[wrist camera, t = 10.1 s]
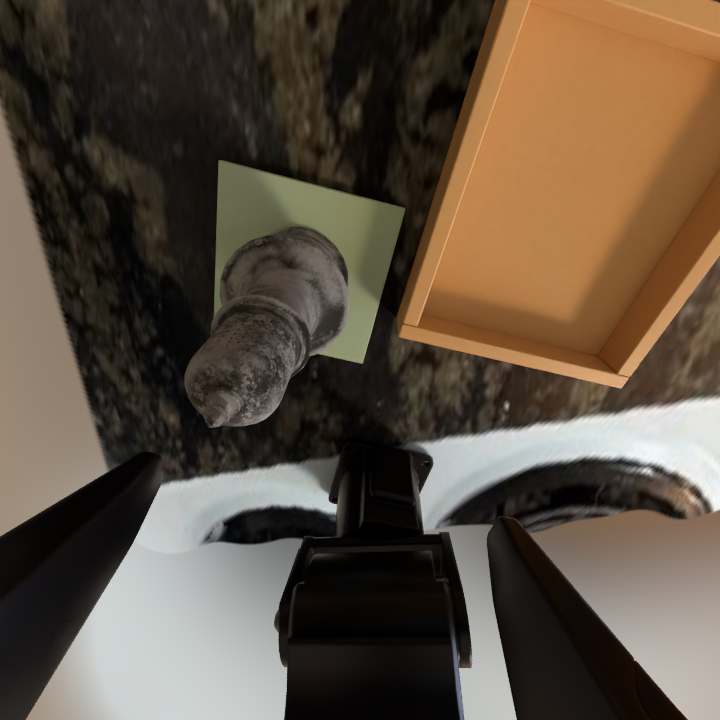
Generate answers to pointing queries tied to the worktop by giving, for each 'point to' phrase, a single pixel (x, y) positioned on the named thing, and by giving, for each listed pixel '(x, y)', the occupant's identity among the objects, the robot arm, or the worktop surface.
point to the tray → (575, 187)
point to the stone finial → (268, 324)
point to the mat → (319, 213)
